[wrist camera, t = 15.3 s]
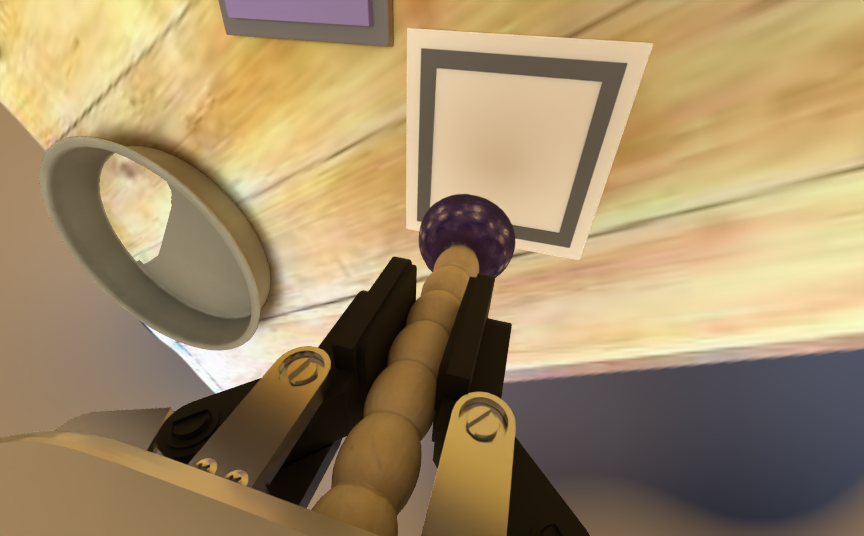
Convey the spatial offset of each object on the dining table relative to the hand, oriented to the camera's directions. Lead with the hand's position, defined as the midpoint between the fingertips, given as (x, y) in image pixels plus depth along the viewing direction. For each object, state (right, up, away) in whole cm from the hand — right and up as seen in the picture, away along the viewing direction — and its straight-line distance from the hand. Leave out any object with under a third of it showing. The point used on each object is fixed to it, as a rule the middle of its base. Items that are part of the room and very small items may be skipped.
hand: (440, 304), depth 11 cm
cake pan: (-28, +4, +28) cm, 40 cm away
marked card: (+5, +9, +13) cm, 17 cm away
